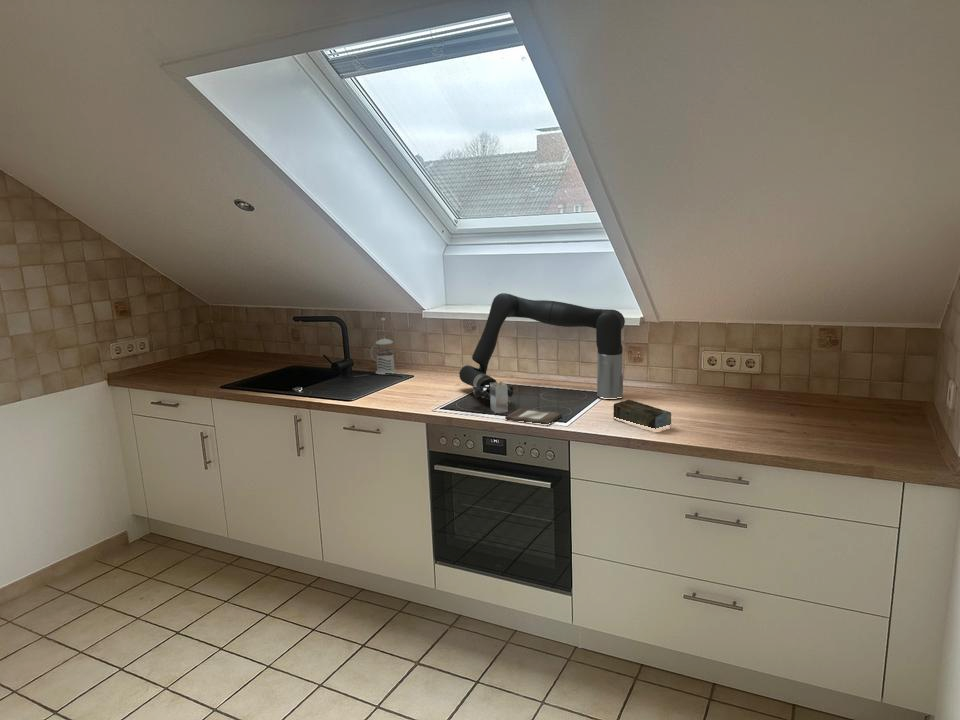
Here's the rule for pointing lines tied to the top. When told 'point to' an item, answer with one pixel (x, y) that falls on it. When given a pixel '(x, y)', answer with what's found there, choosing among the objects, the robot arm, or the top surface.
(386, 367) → the french press
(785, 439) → the top surface
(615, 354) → the robot arm
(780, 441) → the top surface
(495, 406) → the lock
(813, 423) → the top surface
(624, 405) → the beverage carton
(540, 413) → the mount plate
